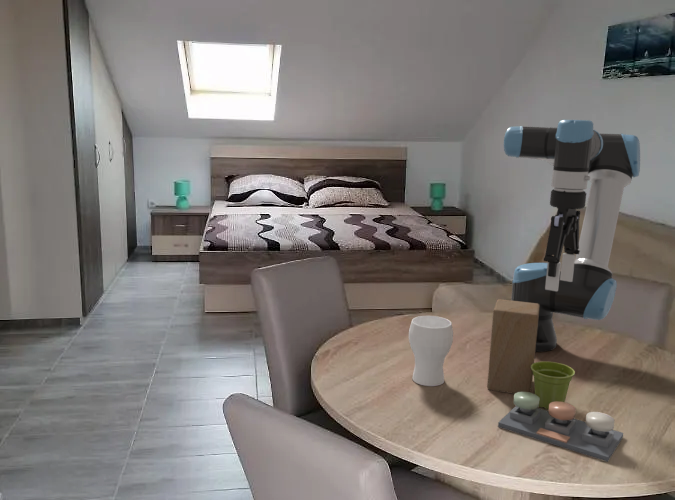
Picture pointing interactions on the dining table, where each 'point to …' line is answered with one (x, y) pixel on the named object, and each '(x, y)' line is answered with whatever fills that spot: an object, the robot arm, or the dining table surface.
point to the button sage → (526, 401)
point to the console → (562, 432)
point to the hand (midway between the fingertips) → (559, 285)
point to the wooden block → (512, 346)
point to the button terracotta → (562, 411)
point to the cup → (430, 348)
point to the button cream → (599, 422)
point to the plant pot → (551, 381)
